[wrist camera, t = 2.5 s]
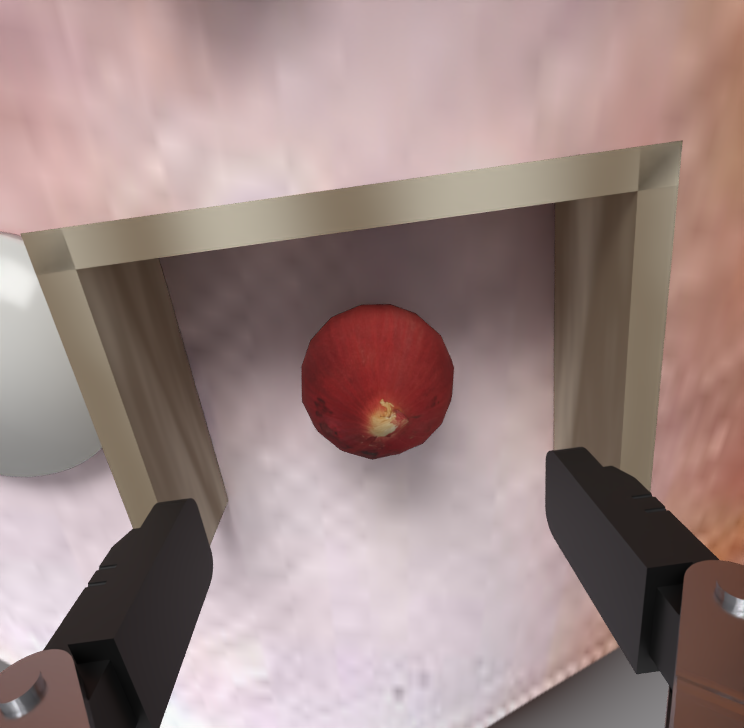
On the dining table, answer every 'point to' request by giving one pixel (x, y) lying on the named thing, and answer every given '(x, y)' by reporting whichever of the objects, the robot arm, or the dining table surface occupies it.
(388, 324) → the onion
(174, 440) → the wooden plank arch
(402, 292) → the dining table surface
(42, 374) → the white flat disc
